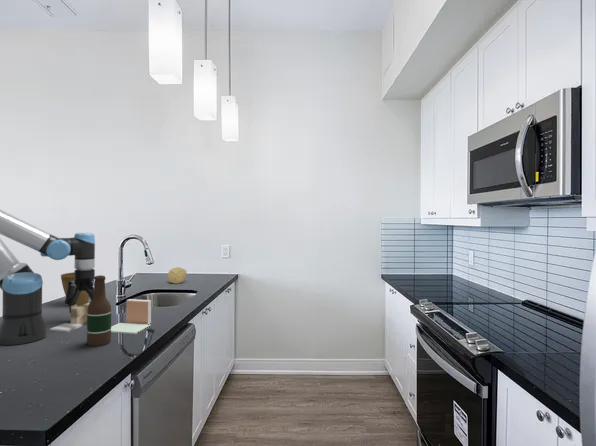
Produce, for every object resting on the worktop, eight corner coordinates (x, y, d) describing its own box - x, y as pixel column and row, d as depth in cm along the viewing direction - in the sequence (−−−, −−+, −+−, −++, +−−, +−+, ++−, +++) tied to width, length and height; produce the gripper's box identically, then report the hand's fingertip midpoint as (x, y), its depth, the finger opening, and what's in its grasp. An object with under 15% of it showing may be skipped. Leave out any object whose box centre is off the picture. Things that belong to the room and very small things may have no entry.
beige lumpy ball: (175, 285, 248) (176, 269, 248) (163, 283, 254) (164, 267, 254) (189, 282, 257) (189, 267, 257) (177, 280, 264) (177, 265, 264)
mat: (135, 334, 143) (135, 332, 143) (102, 332, 145) (102, 330, 145) (150, 326, 154) (150, 324, 154) (119, 324, 156) (119, 322, 156)
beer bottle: (83, 347, 128) (84, 277, 128) (89, 340, 135) (90, 274, 135) (108, 345, 130) (109, 277, 130) (113, 338, 138) (113, 274, 137)
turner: (67, 332, 144) (67, 314, 144) (49, 330, 146) (49, 313, 146) (101, 318, 164) (102, 302, 164) (85, 317, 165) (85, 301, 165)
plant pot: (83, 300, 198) (83, 270, 198) (100, 304, 191) (101, 273, 191) (53, 306, 185) (54, 274, 185) (71, 310, 178) (71, 276, 178)
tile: (147, 325, 155) (148, 301, 155) (125, 323, 157) (126, 300, 157) (150, 323, 158) (151, 300, 158) (129, 322, 159) (129, 299, 159)
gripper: (113, 268, 161) (113, 320, 161) (68, 266, 164) (67, 317, 164) (102, 270, 153) (101, 325, 154) (54, 269, 157) (54, 322, 157)
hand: (84, 321), depth 159 cm, fingers open, 9 cm apart
